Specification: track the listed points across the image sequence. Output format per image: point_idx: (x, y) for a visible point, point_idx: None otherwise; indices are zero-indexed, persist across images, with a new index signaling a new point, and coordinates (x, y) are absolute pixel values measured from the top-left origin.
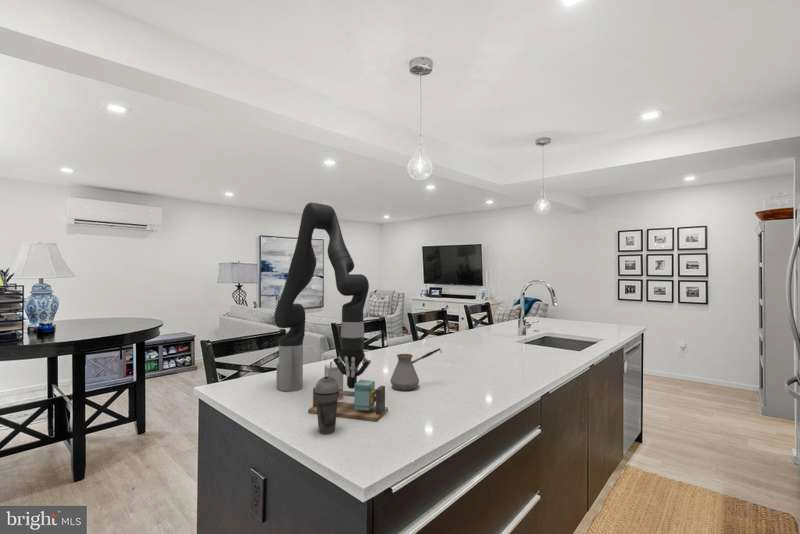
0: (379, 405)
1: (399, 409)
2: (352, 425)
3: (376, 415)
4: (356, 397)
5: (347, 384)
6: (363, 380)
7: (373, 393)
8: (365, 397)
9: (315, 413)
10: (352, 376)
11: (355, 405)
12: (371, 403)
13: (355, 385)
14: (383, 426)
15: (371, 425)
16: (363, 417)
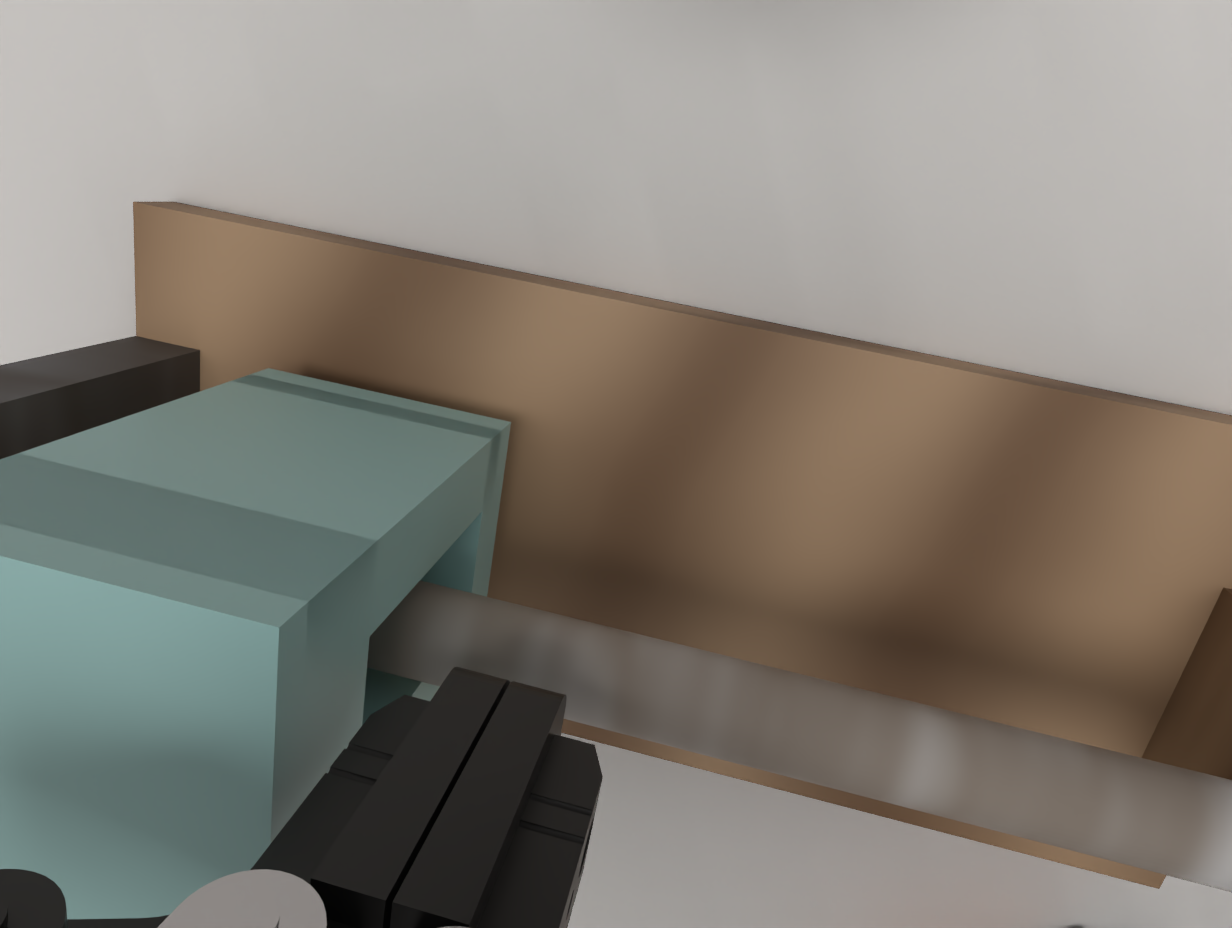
0: (35, 364)
1: None
2: (463, 8)
3: (175, 303)
4: (395, 475)
5: (586, 780)
6: None
7: None
8: (189, 433)
9: (1199, 412)
10: (271, 898)
11: (472, 430)
12: None
13: (272, 593)
14: (43, 51)
15: (203, 60)
16: (348, 244)
